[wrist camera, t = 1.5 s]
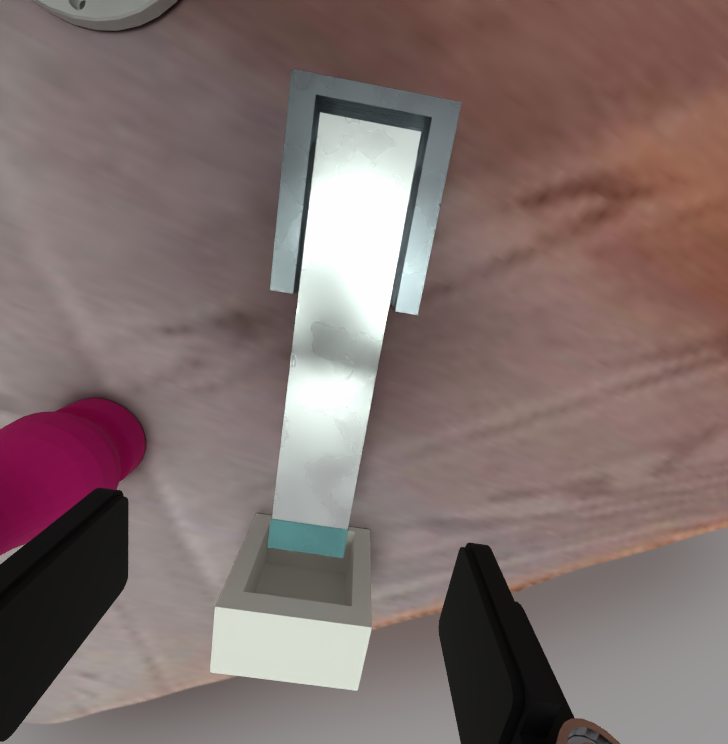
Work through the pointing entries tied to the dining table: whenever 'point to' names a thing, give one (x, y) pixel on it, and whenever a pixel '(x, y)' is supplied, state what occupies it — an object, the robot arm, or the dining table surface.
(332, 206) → the grey rectangular bar
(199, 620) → the dining table surface
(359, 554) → the socket block
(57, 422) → the pepper mill
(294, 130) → the sleeve
